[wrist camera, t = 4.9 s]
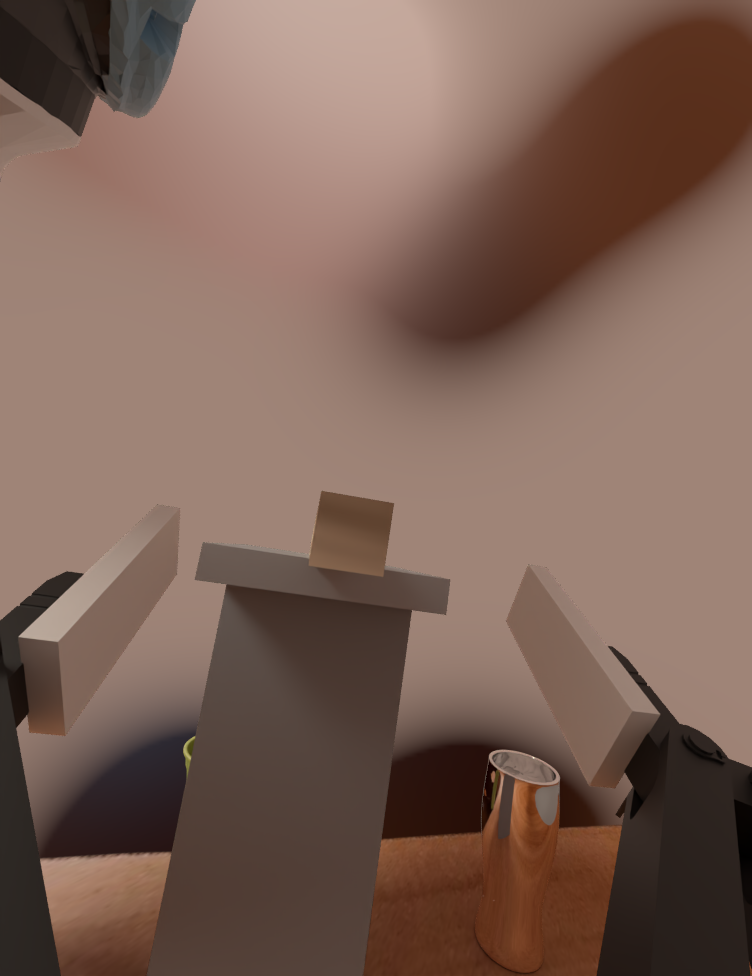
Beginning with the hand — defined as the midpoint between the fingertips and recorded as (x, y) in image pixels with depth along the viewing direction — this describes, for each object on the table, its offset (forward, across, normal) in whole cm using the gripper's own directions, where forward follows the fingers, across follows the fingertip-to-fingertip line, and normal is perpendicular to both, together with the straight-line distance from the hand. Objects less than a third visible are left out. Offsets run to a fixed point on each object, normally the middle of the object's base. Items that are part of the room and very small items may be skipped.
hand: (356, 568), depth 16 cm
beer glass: (+6, +22, -41) cm, 47 cm away
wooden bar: (+10, -1, -6) cm, 11 cm away
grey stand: (-2, 0, -36) cm, 36 cm away
